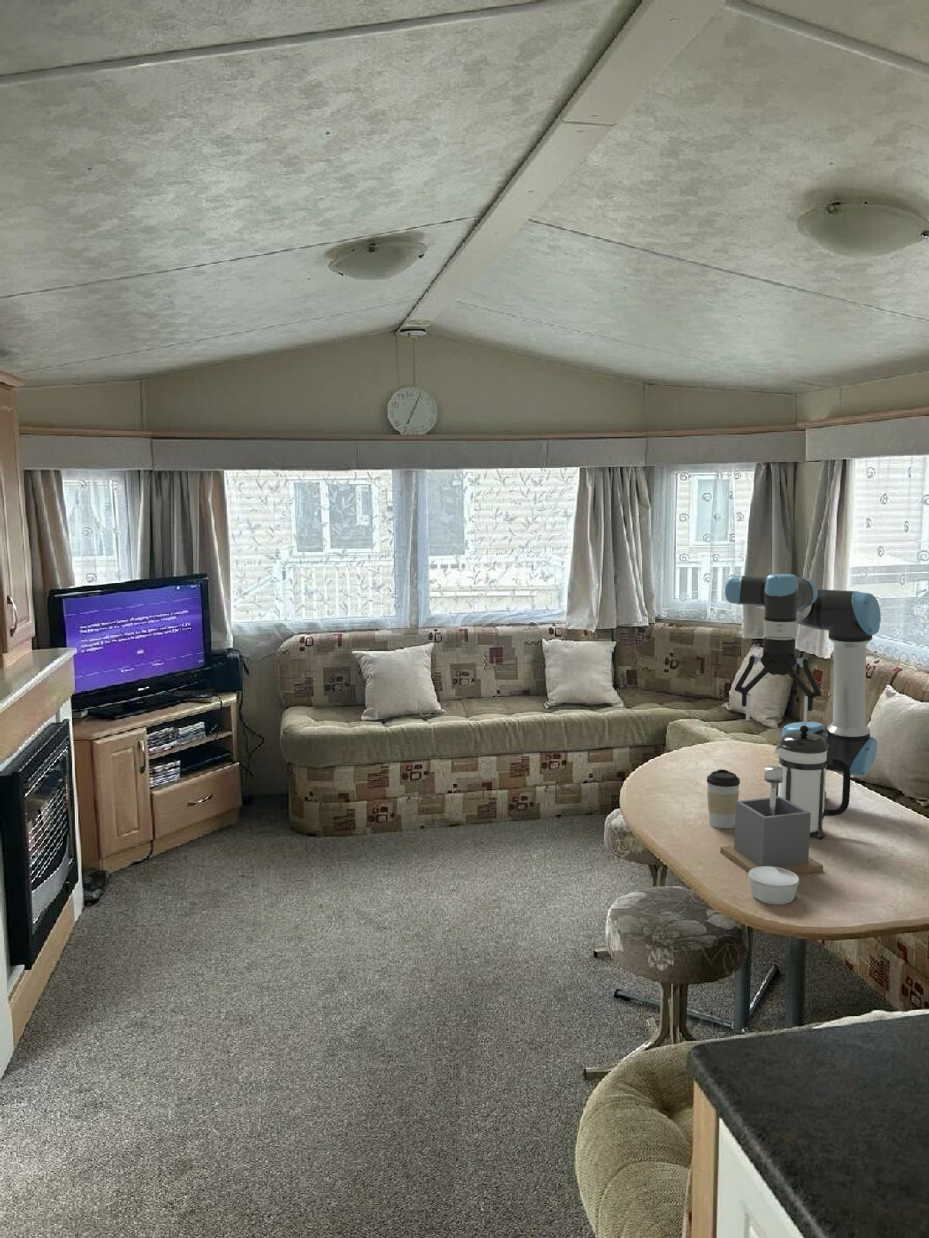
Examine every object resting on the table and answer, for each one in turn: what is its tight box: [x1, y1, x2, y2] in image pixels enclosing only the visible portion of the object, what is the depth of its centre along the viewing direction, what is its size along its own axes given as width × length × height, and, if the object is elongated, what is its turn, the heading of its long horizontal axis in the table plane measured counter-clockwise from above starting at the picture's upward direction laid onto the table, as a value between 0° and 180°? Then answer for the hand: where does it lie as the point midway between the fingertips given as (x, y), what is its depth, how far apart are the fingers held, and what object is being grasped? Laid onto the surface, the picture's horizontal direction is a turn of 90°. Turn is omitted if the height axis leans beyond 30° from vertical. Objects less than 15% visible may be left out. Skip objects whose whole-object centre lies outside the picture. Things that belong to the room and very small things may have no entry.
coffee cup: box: [706, 769, 741, 829], centre depth 270 cm, size 9×9×15 cm
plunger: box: [763, 765, 783, 816], centre depth 242 cm, size 10×10×22 cm
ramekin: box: [747, 866, 800, 906], centre depth 224 cm, size 11×11×5 cm
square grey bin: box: [719, 796, 824, 876], centre depth 243 cm, size 18×18×14 cm
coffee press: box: [772, 725, 851, 840], centre depth 263 cm, size 17×16×30 cm
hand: (776, 721), depth 239 cm, fingers open, 13 cm apart
